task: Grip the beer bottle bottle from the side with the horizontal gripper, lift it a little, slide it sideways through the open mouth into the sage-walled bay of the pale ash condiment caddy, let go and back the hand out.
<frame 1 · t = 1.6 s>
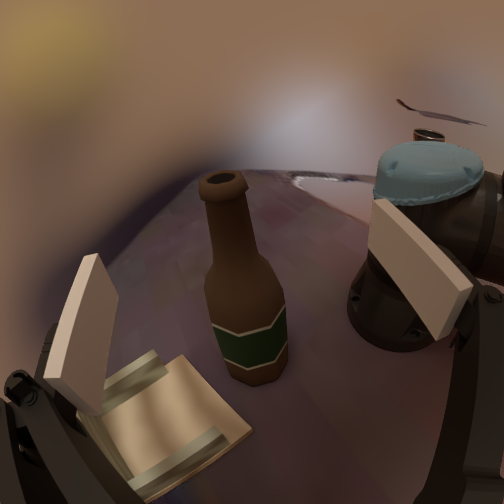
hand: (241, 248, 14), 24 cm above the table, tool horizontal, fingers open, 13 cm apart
caddy: (159, 432, 29), on the table
beer bottle: (257, 362, 36), on the table
wine glass: (422, 190, 65), on the table
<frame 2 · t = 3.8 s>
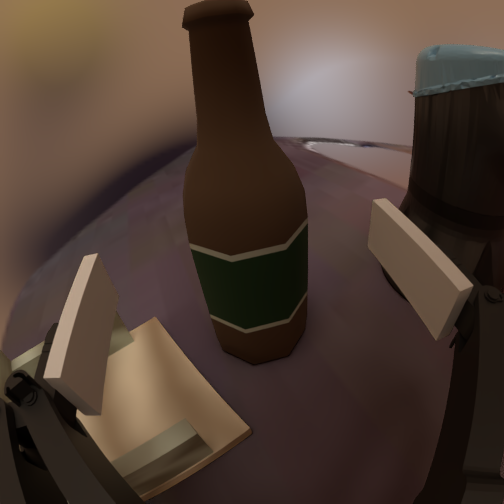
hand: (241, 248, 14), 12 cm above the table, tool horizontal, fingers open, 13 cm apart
caddy: (112, 425, 18), on the table
beer bottle: (260, 330, 25), on the table
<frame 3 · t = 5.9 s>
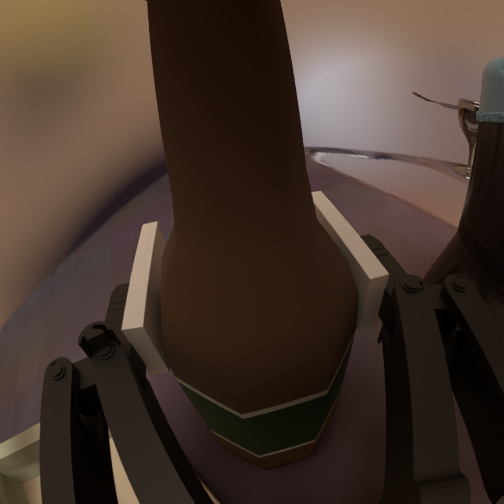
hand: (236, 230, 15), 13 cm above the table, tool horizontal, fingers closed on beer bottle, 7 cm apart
beer bottle: (273, 422, 18), on the table, touching gripper
wine glass: (468, 173, 48), on the table
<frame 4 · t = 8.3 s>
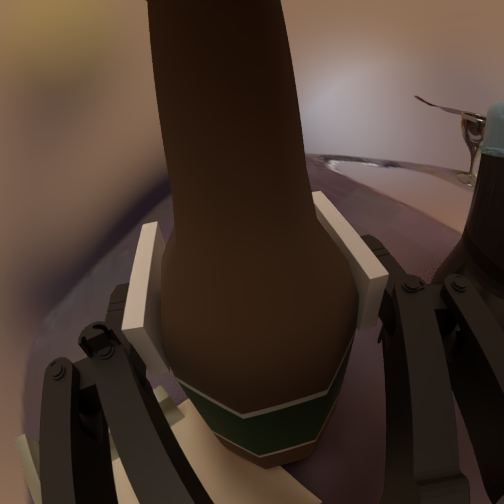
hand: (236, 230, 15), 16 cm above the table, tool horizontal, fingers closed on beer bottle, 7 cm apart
beer bottle: (273, 422, 18), point 3 cm above the table, touching gripper
wine glass: (469, 180, 52), on the table
when the fingers open (15 cm above the table, at t = 10.9 s): beer bottle drops 2 cm, resting on caddy.
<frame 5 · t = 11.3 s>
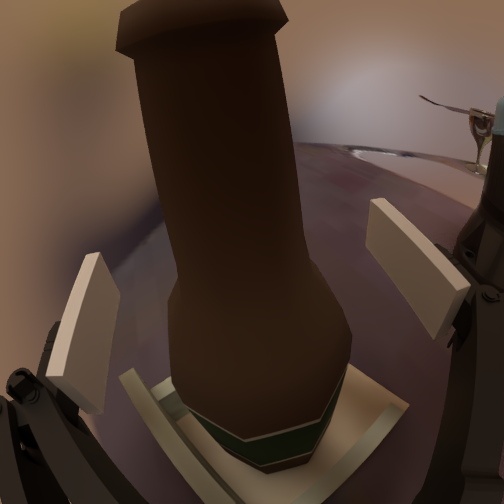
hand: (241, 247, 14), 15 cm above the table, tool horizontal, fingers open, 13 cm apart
caddy: (275, 433, 20), on the table
beer bottle: (274, 430, 19), point 1 cm above the table, touching caddy
wine glass: (476, 169, 57), on the table
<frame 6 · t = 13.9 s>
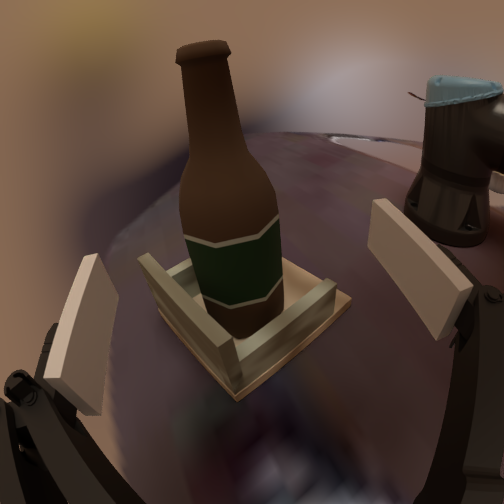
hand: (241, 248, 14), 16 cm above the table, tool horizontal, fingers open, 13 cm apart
cupcake: (495, 188, 48), on the table
caddy: (247, 317, 31), on the table
beer bottle: (246, 311, 30), point 1 cm above the table, touching caddy
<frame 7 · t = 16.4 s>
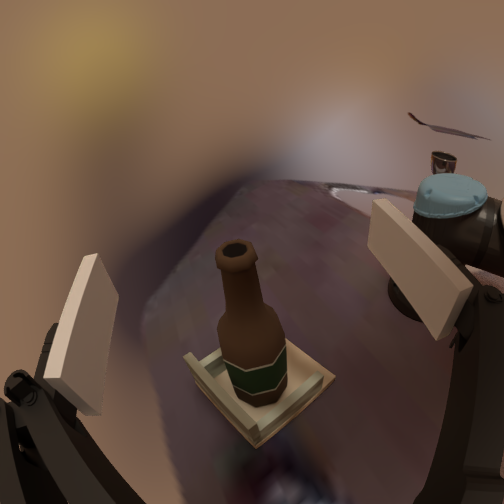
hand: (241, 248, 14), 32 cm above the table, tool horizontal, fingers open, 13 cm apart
caddy: (261, 388, 40), on the table
beer bottle: (260, 385, 40), point 1 cm above the table, touching caddy
wine glass: (436, 202, 77), on the table
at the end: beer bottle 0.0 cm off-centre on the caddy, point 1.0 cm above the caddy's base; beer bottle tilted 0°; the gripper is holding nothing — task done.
